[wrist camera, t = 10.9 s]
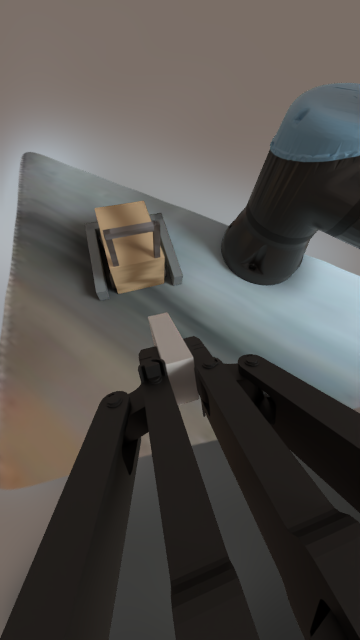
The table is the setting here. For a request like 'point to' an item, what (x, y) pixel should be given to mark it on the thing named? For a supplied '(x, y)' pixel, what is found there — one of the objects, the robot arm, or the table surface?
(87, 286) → the table surface
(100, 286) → the frame
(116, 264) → the cart
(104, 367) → the table surface
